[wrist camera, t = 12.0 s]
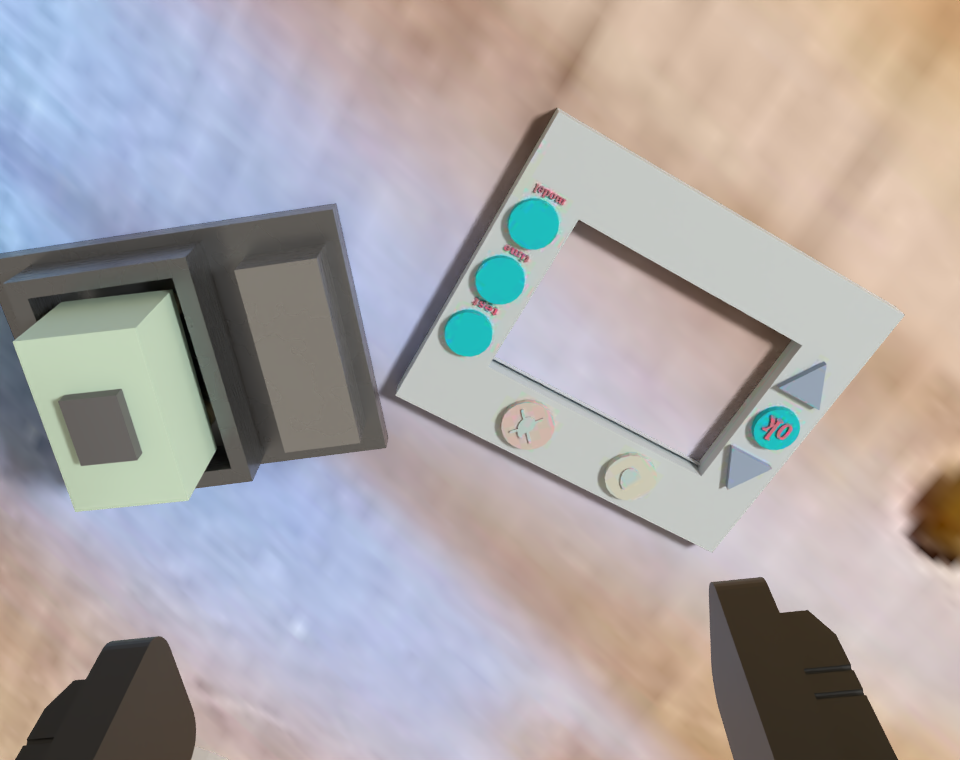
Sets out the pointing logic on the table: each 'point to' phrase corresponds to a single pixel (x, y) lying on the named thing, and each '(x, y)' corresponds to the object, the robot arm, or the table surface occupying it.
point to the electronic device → (687, 253)
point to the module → (119, 399)
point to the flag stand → (206, 755)
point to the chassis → (237, 326)
